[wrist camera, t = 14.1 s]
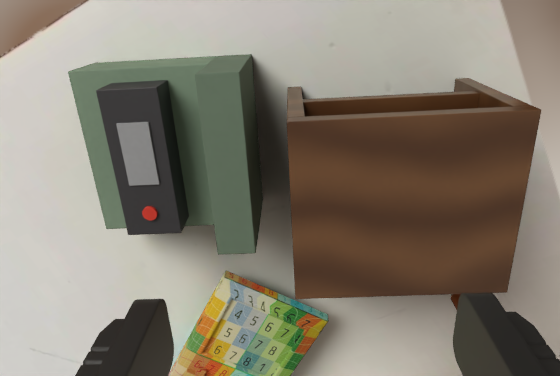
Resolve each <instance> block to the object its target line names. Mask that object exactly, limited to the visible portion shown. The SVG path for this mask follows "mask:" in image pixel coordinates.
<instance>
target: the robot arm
mask: <svg viewBox="0 0 560 376" xmlns="http://www.w3.org/2000/svg"><path fill="white" fill-rule="evenodd" d="M453 348H454V354H455V358H456V361H457V363H458V365H459V368H460V370H461V372H462V374H463V376H560V361H559V359H556V355H555V354H554V353H553V351H552V350H551V349H550V347H549V346H548V345H546V342H545V340H544V339H543V338H542V336H541V335H540V333H539V332H538V331H537V329H536V328H535V327H534V325H532V324H531V323H530V322H528V321H527V320H526V319H524V318H523V317H522V316H520V315H519V314H518V313H516V312H506V311H505V310H504V308H503V307H502V305H501V304H500V302H499V301H498V299H497V298H496V297H495V295H494V294H493V293H490V292H488V293H462V294H461V295H460V297H459V300H458V307H457V314H456V321H455V328H454V335H453ZM173 354H174V344H173V337H172V332H171V327H170V322H169V317H168V312H167V307H166V303H165V301H164V300H163V299H143V300H135V301H134V302H133V304H132V306H131V307H130V309H129V311H128V313H127V315H126V317H125V319H115V320H114V321H113V322H111V323H110V324H109V325H108V326H107V327H106V328H105V329H104V330H103V331H101V332H100V333H99V335H98V337H97V339H96V340H95V342H94V344H93V346H92V347H91V351H90V352H89V353H88V354H87V356H86V358H85V360H84V361H83V365H81V367H80V368H79V370H78V372H77V374H76V375H75V376H168V375H169V372H170V369H171V365H172V361H173Z"/></svg>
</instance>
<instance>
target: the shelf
mask: <svg viewBox="0 0 560 376" xmlns="http://www.w3.org/2000/svg"><path fill="white" fill-rule="evenodd" d="M540 114H541V110H540V109H538V108H536V107H534V106H531V105H529V104H527V103H524V102H522V101H520V100H518V99H515V98H513V97H511V96H508V95H506V94H504V93H502V92H499V91H497V90H495V89H492V88H490V87H488V86H485V85H483V84H481V83H479V82H476V81H474V80H472V79H469V78H461V79H455V87H454V92H443V93H423V94H403V95H383V96H363V97H343V98H323V99H302V91H301V87H288V94H287V137H288V158H289V178H290V198H291V218H292V238H293V258H294V278H295V298H296V299H310V298H342V297H374V296H407V295H439V294H462V293H488V292H490V293H503V292H507V289H508V284H509V279H510V273H511V268H512V263H513V257H514V252H515V247H516V242H517V236H518V231H519V226H520V220H521V215H522V210H523V204H524V199H525V194H526V188H527V183H528V178H529V173H530V167H531V162H532V157H533V151H534V146H535V141H536V135H537V130H538V125H539V119H540Z"/></svg>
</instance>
